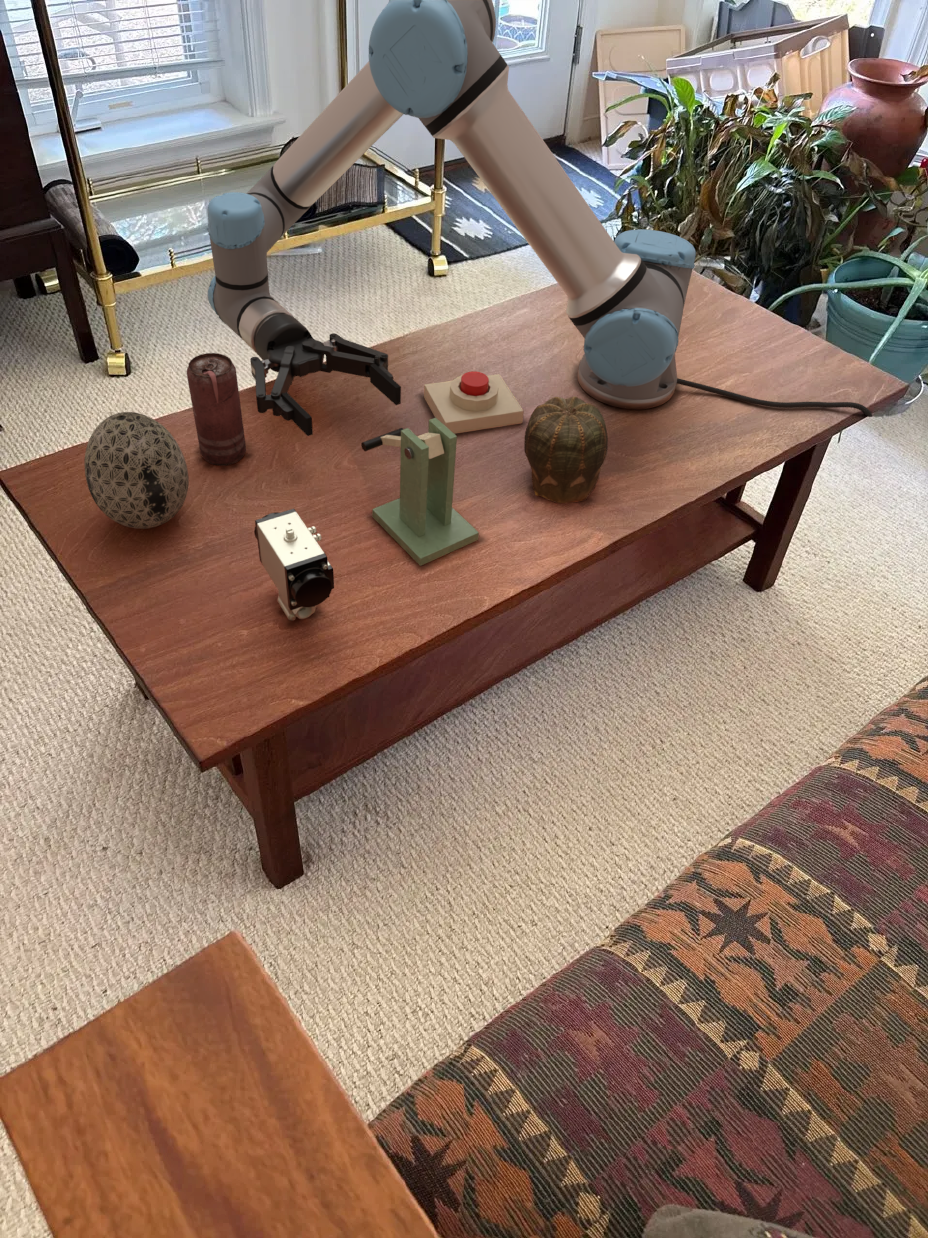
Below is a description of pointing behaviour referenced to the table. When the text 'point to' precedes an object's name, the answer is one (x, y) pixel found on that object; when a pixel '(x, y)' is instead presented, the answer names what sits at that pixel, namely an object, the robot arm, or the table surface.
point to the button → (474, 383)
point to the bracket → (426, 500)
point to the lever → (395, 440)
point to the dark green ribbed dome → (565, 449)
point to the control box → (473, 405)
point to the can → (216, 408)
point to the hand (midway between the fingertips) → (355, 411)
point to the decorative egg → (135, 471)
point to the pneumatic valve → (294, 562)
